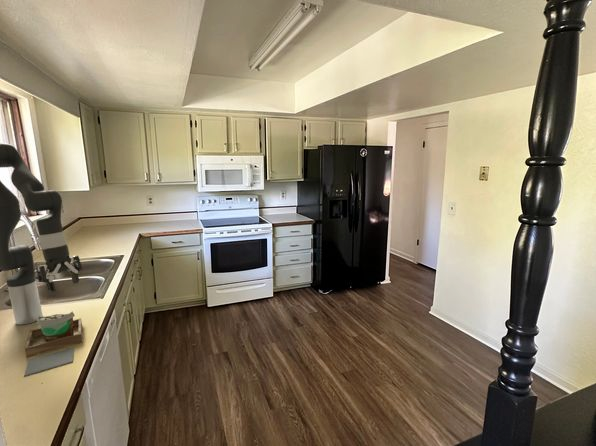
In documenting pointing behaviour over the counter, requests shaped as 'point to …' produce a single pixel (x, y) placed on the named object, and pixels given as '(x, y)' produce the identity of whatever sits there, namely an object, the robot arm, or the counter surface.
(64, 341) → the frame
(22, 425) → the counter surface
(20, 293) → the robot arm
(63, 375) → the counter surface
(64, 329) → the food container
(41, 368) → the rubber mat
